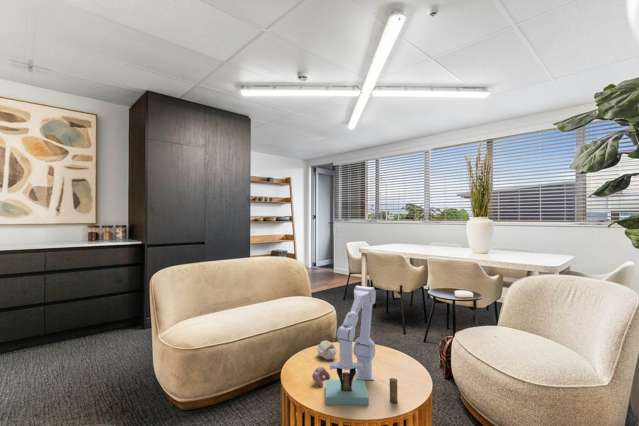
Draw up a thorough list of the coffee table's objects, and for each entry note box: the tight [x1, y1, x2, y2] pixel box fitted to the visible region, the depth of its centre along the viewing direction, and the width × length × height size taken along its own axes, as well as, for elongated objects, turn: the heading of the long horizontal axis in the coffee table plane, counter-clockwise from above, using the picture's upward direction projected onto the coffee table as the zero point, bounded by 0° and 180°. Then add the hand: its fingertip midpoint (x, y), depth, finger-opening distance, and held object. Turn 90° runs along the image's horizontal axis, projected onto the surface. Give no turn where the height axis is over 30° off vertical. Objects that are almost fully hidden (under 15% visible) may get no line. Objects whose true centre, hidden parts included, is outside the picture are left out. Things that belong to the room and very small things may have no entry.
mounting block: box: [325, 379, 370, 406], centre depth 132 cm, size 14×18×3 cm
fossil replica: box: [316, 339, 337, 360], centre depth 170 cm, size 12×8×10 cm
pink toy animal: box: [311, 366, 331, 388], centre depth 144 cm, size 10×5×7 cm, turn 155°
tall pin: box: [389, 377, 399, 404], centre depth 127 cm, size 3×3×9 cm
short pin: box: [342, 371, 350, 391], centre depth 132 cm, size 3×3×7 cm
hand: (346, 385), depth 132 cm, fingers closed on short pin, 3 cm apart
